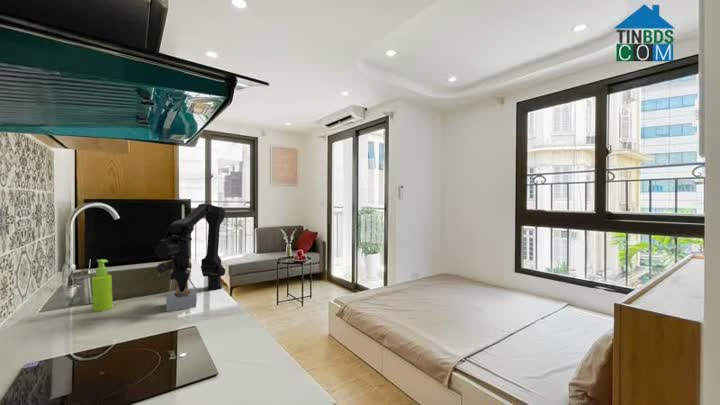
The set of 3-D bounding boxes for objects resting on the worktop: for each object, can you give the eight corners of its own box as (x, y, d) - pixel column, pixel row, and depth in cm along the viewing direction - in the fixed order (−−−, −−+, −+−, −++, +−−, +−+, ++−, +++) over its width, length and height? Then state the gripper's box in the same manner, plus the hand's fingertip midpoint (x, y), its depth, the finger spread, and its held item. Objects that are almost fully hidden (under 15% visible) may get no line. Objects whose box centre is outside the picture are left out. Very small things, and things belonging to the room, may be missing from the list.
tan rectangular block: (176, 295, 121) (176, 278, 120) (188, 293, 122) (187, 277, 122) (176, 297, 118) (175, 280, 118) (187, 295, 120) (187, 278, 120)
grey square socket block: (169, 303, 122) (169, 291, 122) (196, 299, 127) (196, 288, 127) (166, 311, 113) (166, 299, 113) (196, 307, 118) (195, 294, 118)
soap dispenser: (97, 313, 113) (95, 262, 112) (90, 310, 116) (88, 260, 116) (116, 308, 118) (114, 259, 117) (108, 305, 121) (107, 257, 121)
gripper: (160, 251, 124) (162, 287, 125) (153, 259, 108) (154, 301, 108) (191, 248, 129) (192, 283, 130) (188, 256, 113) (189, 296, 113)
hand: (182, 290), depth 120 cm, fingers closed on tan rectangular block, 3 cm apart
